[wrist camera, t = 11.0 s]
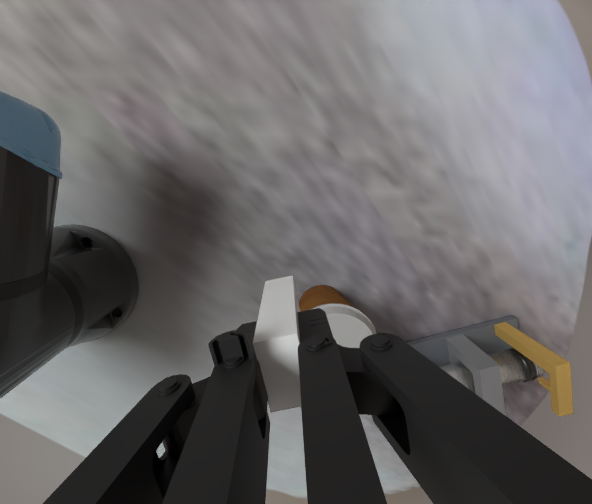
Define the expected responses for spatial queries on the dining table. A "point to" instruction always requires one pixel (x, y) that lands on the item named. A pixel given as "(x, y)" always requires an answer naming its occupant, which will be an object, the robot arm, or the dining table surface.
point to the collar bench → (486, 372)
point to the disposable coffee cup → (338, 315)
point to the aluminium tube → (511, 369)
